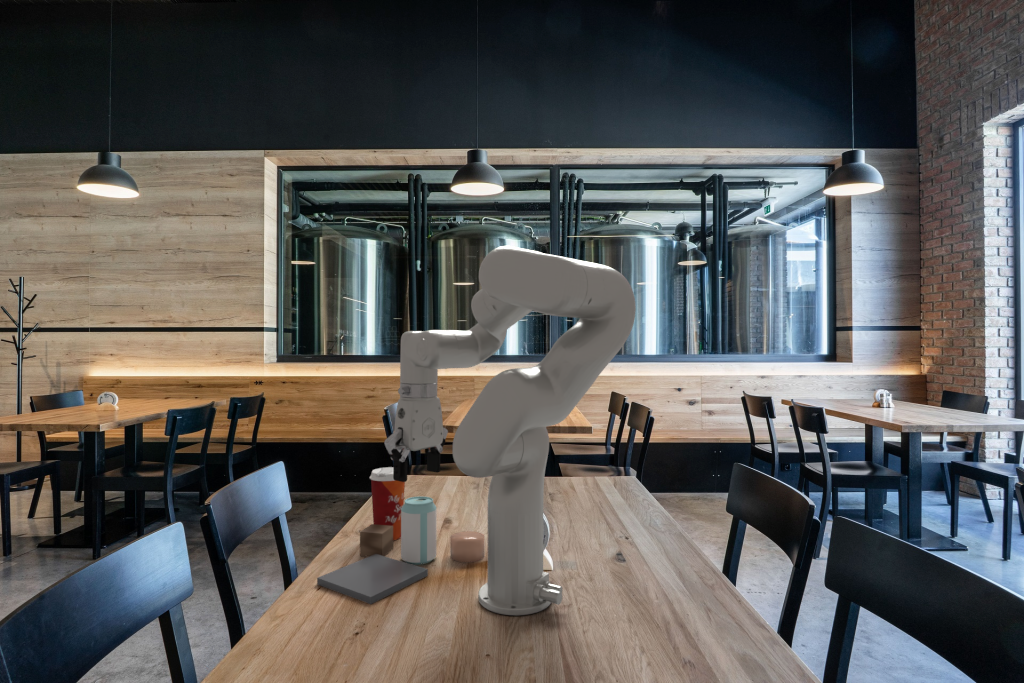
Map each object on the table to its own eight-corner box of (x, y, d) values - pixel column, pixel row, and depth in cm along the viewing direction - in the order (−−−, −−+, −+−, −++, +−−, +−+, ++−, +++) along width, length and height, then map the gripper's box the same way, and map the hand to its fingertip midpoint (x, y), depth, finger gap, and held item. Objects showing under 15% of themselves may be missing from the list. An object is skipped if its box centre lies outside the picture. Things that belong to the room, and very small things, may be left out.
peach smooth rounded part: (491, 554, 115) (491, 535, 115) (470, 565, 109) (470, 545, 109) (464, 547, 119) (464, 529, 119) (443, 558, 113) (443, 538, 113)
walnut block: (393, 549, 118) (393, 525, 118) (382, 558, 113) (382, 533, 113) (371, 547, 119) (371, 524, 119) (360, 556, 114) (360, 531, 114)
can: (397, 555, 114) (398, 497, 114) (431, 551, 116) (431, 493, 117) (405, 568, 107) (405, 506, 107) (440, 562, 110) (440, 502, 110)
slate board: (427, 575, 104) (427, 569, 104) (370, 604, 92) (370, 597, 92) (375, 559, 112) (375, 553, 112) (317, 584, 100) (317, 577, 100)
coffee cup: (397, 544, 120) (398, 475, 120) (362, 541, 122) (363, 473, 122) (412, 532, 128) (412, 467, 129) (379, 529, 130) (379, 465, 130)
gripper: (401, 396, 103) (400, 488, 103) (460, 390, 117) (458, 470, 117) (373, 393, 107) (372, 481, 107) (433, 388, 122) (432, 465, 122)
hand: (417, 475), depth 112 cm, fingers open, 9 cm apart
